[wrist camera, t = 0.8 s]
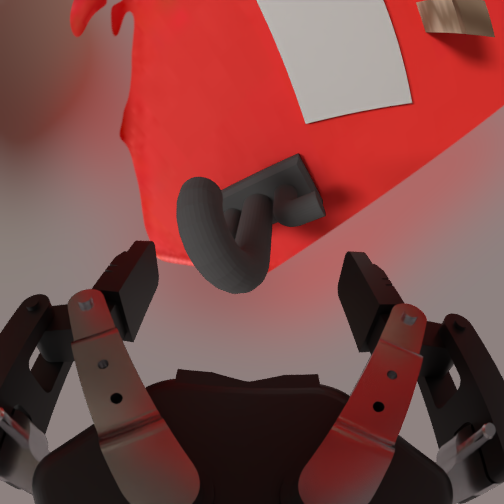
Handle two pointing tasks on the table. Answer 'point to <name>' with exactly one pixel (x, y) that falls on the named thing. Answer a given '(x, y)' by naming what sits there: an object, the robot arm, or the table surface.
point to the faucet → (243, 221)
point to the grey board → (338, 55)
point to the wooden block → (456, 17)
